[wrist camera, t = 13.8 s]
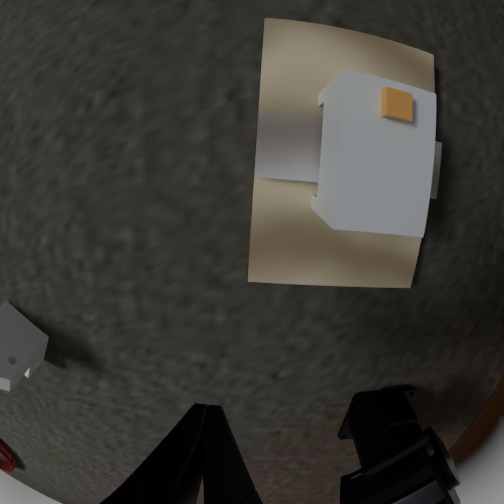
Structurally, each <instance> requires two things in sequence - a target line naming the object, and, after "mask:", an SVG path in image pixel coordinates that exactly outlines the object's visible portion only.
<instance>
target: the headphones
mask: <svg viewBox="0 0 504 504" xmlns="http://www.w3.org/2000/svg"><path fill="white" fill-rule="evenodd" d="M0 453H1V454H2V455H3V456H4V458H5V459H6V460H7V461H8V462H6V461H3V460H1V459H0V469H2V470H4V471H8V472H11V471H13V470H14V467H15V465H16V458H15V457H14V455H13V454H12V452H11V451H10V450H9V449H8V448H7V446H6V445H5V444H4V443H3V442H2V441H1V440H0Z"/></svg>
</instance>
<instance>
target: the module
mask: <svg viewBox="0 0 504 504" xmlns="http://www.w3.org/2000/svg"><path fill="white" fill-rule="evenodd" d="M319 106H322V107H324V108H323V126H322V142H321V156H320V169H319V181H318V192H317V195H312V203H311V209H312V210H313V211H314V212H315V213H316V214H317V215H318V216H320V217H321V218H322V219H323V220H324V221H325V222H326V223H327V224H328V225H329V226H330V227H331V228H332V229H336V230H348V231H360V232H372V233H383V234H394V235H405V236H415V237H424V231H425V226H426V220H427V213H428V207H429V200H430V192H431V184H432V175H433V164H434V152H435V135H436V94H435V93H432V92H429V91H426V90H423V89H420V88H416V87H413V86H410V85H406V84H403V83H399V82H396V81H392V80H388V79H384V78H380V77H376V76H372V75H367V74H363V73H358V72H353V71H348V70H344V71H343V72H341V73H340V74H339V75H338V76H337V77H336V78H335V79H334V80H333V81H332V82H330V83H329V84H328V85H327V86H326V87H325V88H324V89H323V90H322V91H321V92H320V93H319Z"/></svg>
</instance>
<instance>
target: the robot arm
mask: <svg viewBox="0 0 504 504" xmlns="http://www.w3.org/2000/svg"><path fill="white" fill-rule="evenodd" d="M415 393H416V390H415V389H414V388H413V387H410V388H403V389H395V390H386V391H377V392H366V393H357V394H355V395H354V396H353V398H352V401H351V404H350V406H349V409H348V411H347V414H346V416H345V419H344V421H343V424H342V426H341V429H340V431H339V433H338V437H339V439H340V440H343V439H353V441H354V444H355V447H356V451H357V454H358V458H359V461H360V465H361V469H359V470H357V471H355V472H353V473H351V474H349V475H344V476H342V477H341V485H340V504H460V499H459V497H458V495H457V493H456V491H455V489H454V488H455V487H456V486H458V485H459V484H460V481H459V478H458V474H457V472H456V469H455V466H454V463H453V460H452V458H451V456H450V454H449V452H448V450H447V449H446V447H445V445H444V443H443V441H442V440H441V439H440V438H439V436H438V435H437V434H436V433H435V431H434V430H433V429H432V428H431V426H429V427H428V428H426V429H425V431H424V432H422V430H421V428H420V426H419V424H418V418H417V416H416V414H415V412H414V410H413V408H412V407H411V405H410V403H411V401H412V400H413V398H414V396H415ZM358 398H359V399H358ZM133 474H134V475H133ZM133 474H131V475H130V476H129V477H128V478H127V479H126V481H125V482H124V483H123V484H122V485H121V486H119V487H118V488H117V489H116V490H115V491H114V492H113V493H112V494H111V495H109V496H108V497H107V498H106V499H105V500H103V501H102V502H101V503H99V504H196V501H197V497H198V493H199V489H200V485H201V481H202V477H203V485H204V504H262V502H261V500H260V497H259V495H258V493H257V491H256V490H255V487H254V484H253V482H252V480H251V478H250V475H249V473H248V471H247V468H246V466H245V463H244V461H243V459H242V456H241V454H240V451H239V449H238V446H237V444H236V441H235V439H234V436H233V434H232V431H231V429H230V426H229V423H228V421H227V418H226V415H225V413H224V410H223V408H222V406H219V405H209V406H208V405H206V404H198V403H196V404H194V405H193V406H192V407H191V408H190V409H189V411H188V412H187V413H186V414H185V415H184V416H183V418H182V419H181V420H180V421H179V422H178V423H177V424H176V426H175V427H174V428H173V429H172V430H171V431H170V432H169V434H168V435H167V436H166V437H165V438H164V439H163V440H162V441H161V443H160V444H159V445H158V446H157V447H156V448H155V449H154V450H153V452H152V453H151V454H150V455H149V456H148V457H147V458H146V459H145V460H144V461H143V462H142V464H141V465H140V466H139V467H138V468H137V469H136V470H135V471H134V472H133Z"/></svg>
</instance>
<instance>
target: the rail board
mask: <svg viewBox="0 0 504 504" xmlns="http://www.w3.org/2000/svg"><path fill="white" fill-rule="evenodd" d="M344 70H348V71H353V72H358V73H363V74H367V75H372V76H376V77H380V78H384V79H388V80H392V81H396V82H399V83H403V84H406V85H410V86H413V87H416V88H420V89H423V90H426V91H429V92H432V93H435V81H434V59H433V55H432V54H430V53H427V52H424V51H421V50H419V49H416V48H413V47H410V46H407V45H404V44H401V43H398V42H394V41H391V40H388V39H384V38H381V37H377V36H373V35H369V34H365V33H361V32H357V31H353V30H348V29H343V28H338V27H333V26H327V25H322V24H315V23H309V22H301V21H293V20H284V19H273V18H265V23H264V37H263V52H262V67H261V82H260V97H259V112H258V127H257V143H256V158H255V174H254V189H253V205H252V221H251V236H250V252H249V268H248V282H263V283H282V284H302V285H325V286H351V287H384V288H410V287H411V283H412V279H413V275H414V271H415V267H416V262H417V258H418V253H419V248H420V243H421V238H422V237H415V236H405V235H394V234H383V233H372V232H360V231H348V230H336V229H332V228H331V227H330V226H329V225H328V224H327V223H326V222H325V221H324V220H323V219H322V218H321V217H320V216H318V215H317V214H316V213H315V212H314V211H313V210H312V209H311V203H312V195H317V192H318V181H319V169H320V156H321V142H322V126H323V108H324V107H322V106H319V93H320V92H321V91H322V90H323V89H324V88H325V87H326V86H327V85H328V84H329V83H330V82H332V81H333V80H334V79H335V78H336V77H337V76H338V75H339V74H340V73H341V72H343V71H344ZM441 150H442V143H441V142H437V141H435V152H434V164H433V175H432V184H431V192H430V198H433V199H436V198H437V191H438V182H439V173H440V163H441Z"/></svg>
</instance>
